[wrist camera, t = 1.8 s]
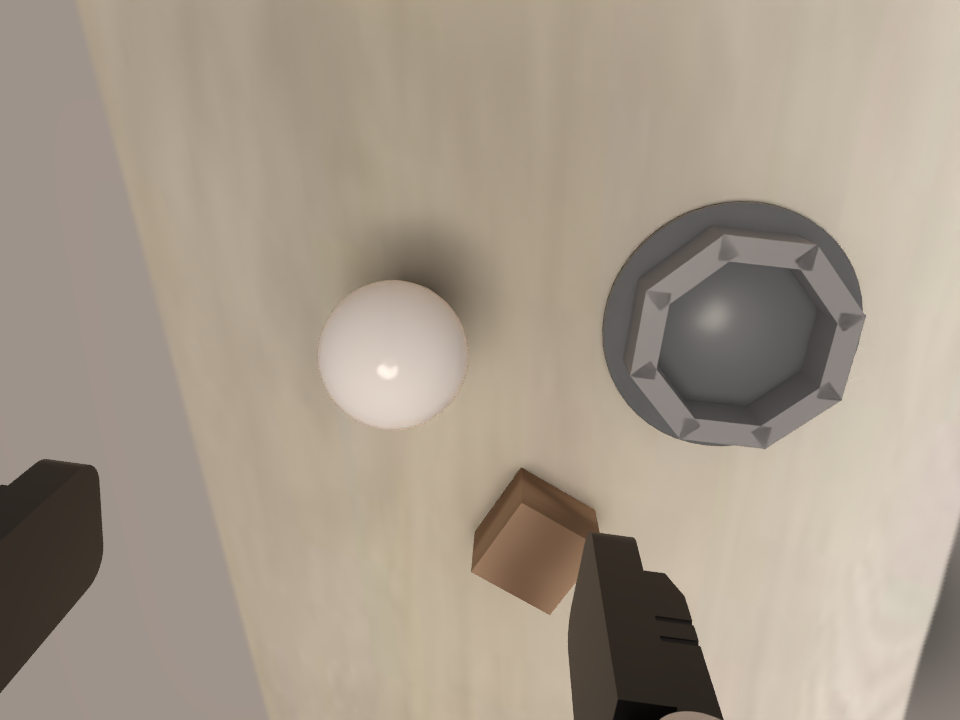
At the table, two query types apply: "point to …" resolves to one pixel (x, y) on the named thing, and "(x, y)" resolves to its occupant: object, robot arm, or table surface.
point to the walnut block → (533, 541)
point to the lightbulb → (392, 355)
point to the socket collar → (733, 325)
